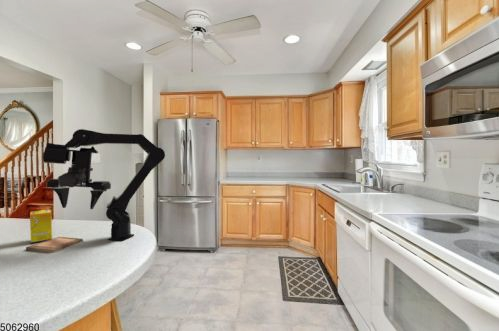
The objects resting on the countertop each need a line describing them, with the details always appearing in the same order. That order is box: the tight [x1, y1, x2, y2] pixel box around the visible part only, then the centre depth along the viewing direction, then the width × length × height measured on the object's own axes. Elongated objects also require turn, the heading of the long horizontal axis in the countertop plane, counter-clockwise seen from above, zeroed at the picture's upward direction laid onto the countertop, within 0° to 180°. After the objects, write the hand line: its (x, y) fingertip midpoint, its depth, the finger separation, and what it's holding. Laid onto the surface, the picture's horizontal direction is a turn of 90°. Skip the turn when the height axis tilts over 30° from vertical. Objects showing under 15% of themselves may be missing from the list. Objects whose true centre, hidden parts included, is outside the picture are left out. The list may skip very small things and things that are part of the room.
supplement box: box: [29, 209, 53, 245], centre depth 88 cm, size 6×6×11 cm
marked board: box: [25, 236, 84, 254], centre depth 83 cm, size 11×11×1 cm
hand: (78, 208), depth 85 cm, fingers open, 9 cm apart
